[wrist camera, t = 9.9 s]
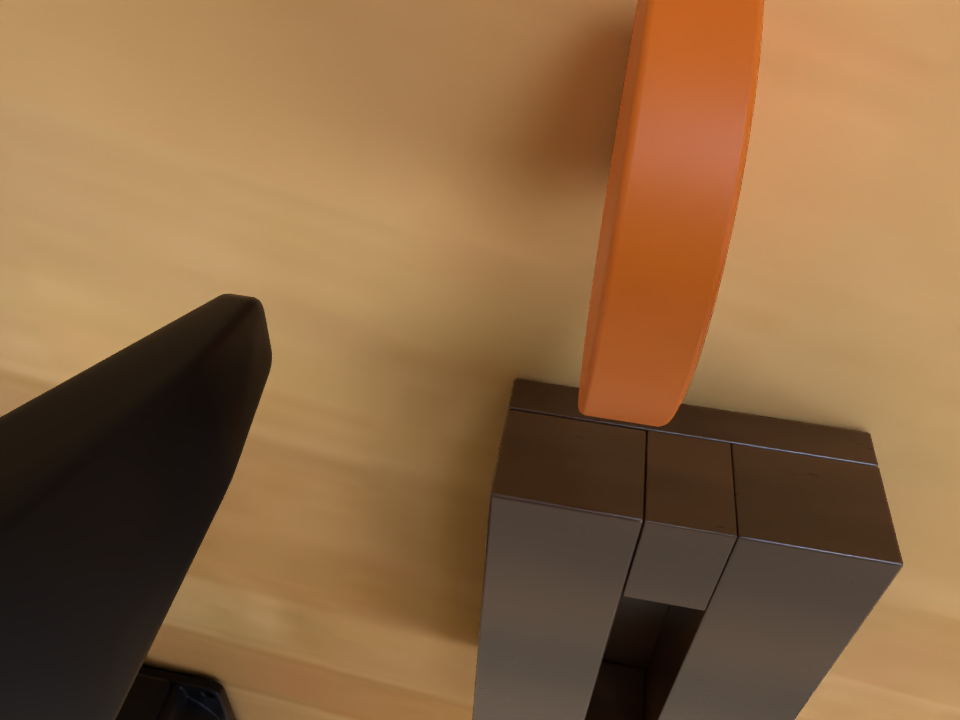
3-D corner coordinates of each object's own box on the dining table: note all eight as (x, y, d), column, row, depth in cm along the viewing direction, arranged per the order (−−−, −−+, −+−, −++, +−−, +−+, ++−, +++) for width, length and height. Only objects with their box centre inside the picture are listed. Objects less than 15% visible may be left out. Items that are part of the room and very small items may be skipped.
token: (652, 296, 15) (657, 529, 10) (590, 287, 16) (563, 513, 10) (731, -83, 12) (807, -39, 7) (651, -90, 12) (660, -53, 7)
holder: (725, 697, 26) (731, 810, 24) (488, 652, 27) (469, 756, 25) (871, 431, 18) (904, 565, 15) (514, 377, 18) (488, 494, 16)
